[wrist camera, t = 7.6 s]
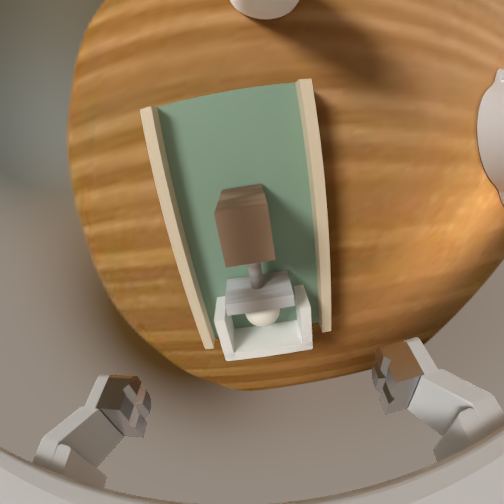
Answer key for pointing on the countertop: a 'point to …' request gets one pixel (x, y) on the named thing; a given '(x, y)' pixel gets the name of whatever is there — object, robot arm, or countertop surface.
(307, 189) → the pitch
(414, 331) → the countertop surface
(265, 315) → the ball
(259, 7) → the can
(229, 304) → the block
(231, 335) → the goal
